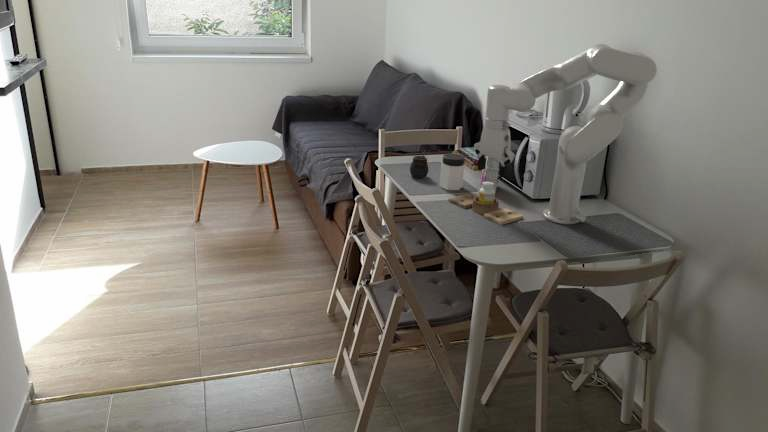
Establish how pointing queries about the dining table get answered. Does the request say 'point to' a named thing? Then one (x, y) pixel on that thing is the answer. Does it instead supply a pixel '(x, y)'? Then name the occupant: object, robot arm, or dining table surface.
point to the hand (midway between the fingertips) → (491, 173)
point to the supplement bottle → (487, 193)
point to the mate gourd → (419, 166)
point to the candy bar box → (491, 171)
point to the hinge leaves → (486, 209)
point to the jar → (452, 172)
